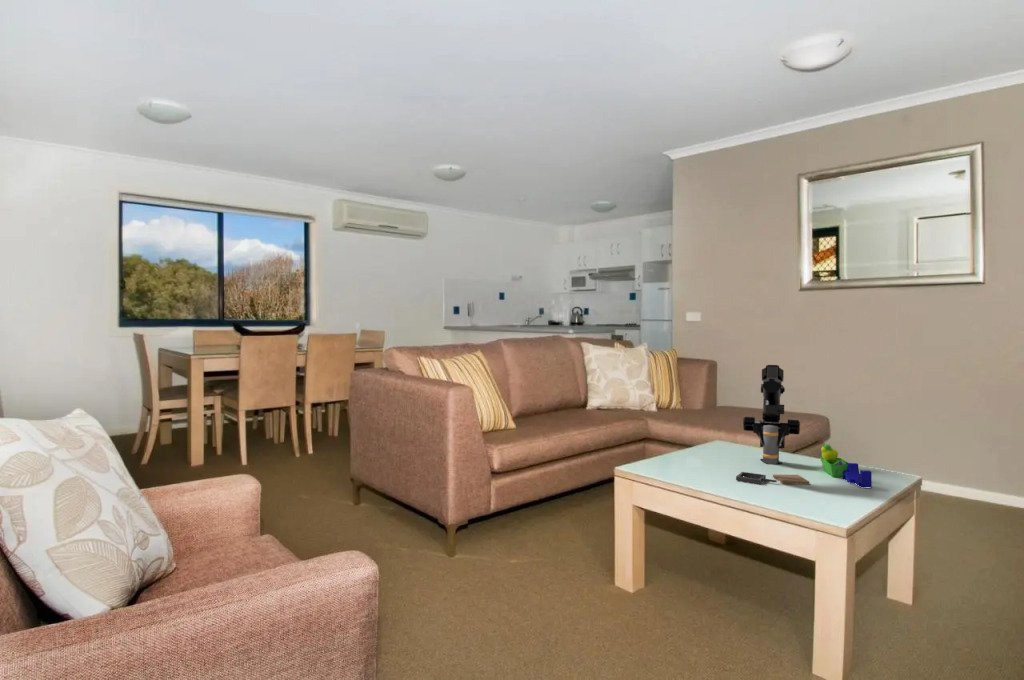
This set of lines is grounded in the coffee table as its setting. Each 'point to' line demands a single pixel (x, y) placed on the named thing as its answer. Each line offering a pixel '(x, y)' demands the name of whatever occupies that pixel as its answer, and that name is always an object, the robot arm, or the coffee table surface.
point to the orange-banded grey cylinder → (770, 444)
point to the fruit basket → (832, 462)
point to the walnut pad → (791, 479)
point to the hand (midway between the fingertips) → (770, 444)
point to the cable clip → (858, 475)
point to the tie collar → (758, 480)
